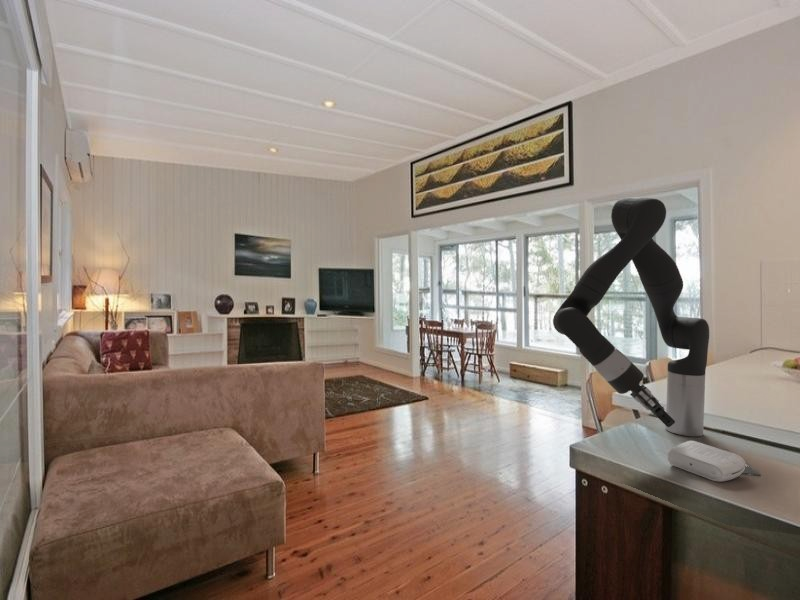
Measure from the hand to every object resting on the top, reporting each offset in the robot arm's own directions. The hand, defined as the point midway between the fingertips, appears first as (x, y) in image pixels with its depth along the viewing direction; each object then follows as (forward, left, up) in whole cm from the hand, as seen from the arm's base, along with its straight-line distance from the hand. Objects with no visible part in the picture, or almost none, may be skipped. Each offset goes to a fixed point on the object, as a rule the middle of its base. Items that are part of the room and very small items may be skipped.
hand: (671, 424), depth 106 cm
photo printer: (+1, +1, -6) cm, 6 cm away
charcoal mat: (-3, +11, -9) cm, 14 cm away
